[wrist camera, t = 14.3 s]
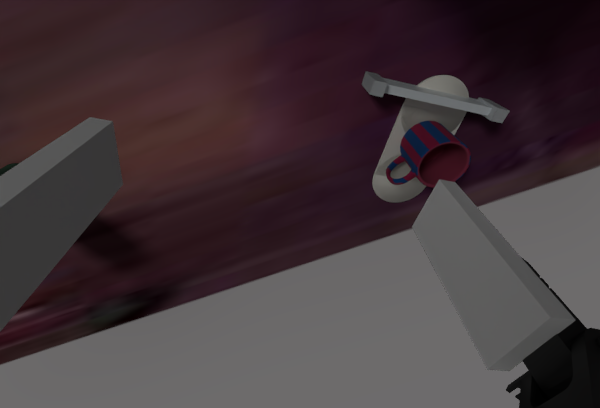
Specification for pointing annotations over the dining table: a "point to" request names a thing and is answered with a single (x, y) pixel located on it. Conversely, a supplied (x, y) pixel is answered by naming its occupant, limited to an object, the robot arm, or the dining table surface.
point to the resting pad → (406, 119)
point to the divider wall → (433, 97)
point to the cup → (431, 155)
